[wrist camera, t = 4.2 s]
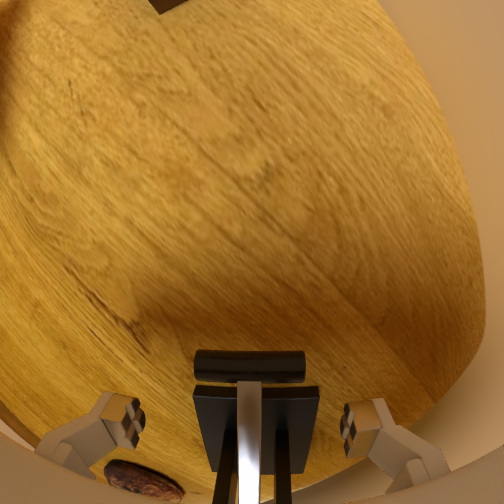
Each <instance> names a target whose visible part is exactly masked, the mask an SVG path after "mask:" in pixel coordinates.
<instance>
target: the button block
mask: <svg viewBox="0 0 504 504" xmlns="http://www.w3.org/2000/svg"><path fill="white" fill-rule="evenodd" d="M148 1H149V2H150V3H151V5H152V6H153V7H154V8H155V10H156V11H157V12H158V14H161V13H163V12H165V11H166V10H168V9H170V8H172V7H174V6H176V5H178V4H180V3H182V2H184V1H186V0H148Z"/></svg>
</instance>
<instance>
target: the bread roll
mask: <svg viewBox="0 0 504 504" xmlns="http://www.w3.org/2000/svg"><path fill="white" fill-rule="evenodd" d="M104 474H105V477H106V479H107V481H108V483H109V485H110V486H113V487H116V488H119V489H123V490H126V491H130V492H133V493H137V494H141V495H144V496H148V497H153V498H157V499H162V500H166V501H172V502H177V503H180V502H181V501H182V499H184V496H183V495H182V493H181V491H180V490H179V488H178V487H176V486H175V485H174V484H172V483H171V482H170V481H169V480H167V479H164V478H162V477H160V476H158V475H156V474H153V473H151V472H149V471H146V470H145V469H140V468H139V467H137V466H135V465H131V464H130V465H129V464H128V463H127V462H125V461H121V460H115V461H111V462H110V463H108V465H106V466H105V468H104Z"/></svg>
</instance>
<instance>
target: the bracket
mask: <svg viewBox="0 0 504 504" xmlns="http://www.w3.org/2000/svg"><path fill="white" fill-rule="evenodd" d="M319 399H320V396H319V391H318V387H301V388H262V426H261V475H274V504H292V496H291V474H302V473H304V469H305V465H306V461H307V457H308V452H309V448H310V444H311V439H312V434H313V430H314V425H315V420H316V415H317V410H318V404H319ZM193 400H194V404H195V409H196V413H197V417H198V421H199V425H200V429H201V433H202V437H203V441H204V445H205V449H206V452H207V456H208V459H209V463H210V466H211V470H212V472H217V478H216V484H215V490H214V496H213V502H212V504H235V498H236V489H237V480H238V439H237V388H230V387H211V386H198V385H196V386H195V389H194V393H193Z"/></svg>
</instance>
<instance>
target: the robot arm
mask: <svg viewBox="0 0 504 504" xmlns="http://www.w3.org/2000/svg"><path fill="white" fill-rule="evenodd" d="M139 406H140V401H139V399H138V398H136V397H131V396H126V395H122V394H118V393H113V392H108V391H105V392H103V393H102V395H101V396H100V398H99V399H98V401H97V402H96V404H95V405H94V407H93V408H92V410H91V412H90V413H89V415H86V414H85V415H83V416H81V417H79V418H77V419H75V420H73V421H71V422H69V423H67V424H65V425H63V426H61V427H59V428H57V429H55V430H53V431H50V432H48V433H46V434H45V436H44V437H43V439H42V440H41V442H40V443H39V445H38V446H37V448H36V449H35V451H34V452H33V451H31V450H29V449H27V448H25V447H24V446H22V445H20V444H19V443H17V442H16V441H14V440H12V439H11V438H9V437H8V436H6V435H5V434H3V433H1V432H0V504H183V503H177V502H172V501H166V500H162V499H157V498H153V497H148V496H144V495H141V494H137V493H133V492H130V491H126V490H123V489H119V488H116V487H113V486H110V485H107V484H104V483H101V482H99V481H96V480H95V479H96V477H95V475H94V474H93V473H92V471H91V470H90V469H89V467H90V466H92V465H93V464H95V463H96V462H97V461H99V460H100V459H101V458H103V457H104V456H106V455H107V454H108V453H110V452H111V451H112V450H114V449H115V448H116V447H117V446H120V447H124V448H128V449H133V450H135V448H136V446H137V443H138V441H139V439H140V438H139V436H138V434H139V433H140V432H142V431H143V429H144V427H145V420H146V419H145V414H144V411H143V410H142V409H141V408H139ZM344 412H345V414H344V415H343V416H342V417H341V421H340V431H341V436H342V438H343V439H344V440H346V441H345V443H344V449H345V453H346V457H347V458H352V457H359V456H365V455H367V457H368V458H370V459H371V460H372V461H373V462H374V463H375V464H376V465H377V466H378V467H380V468H381V469H382V470H383V471H384V472H385V473H386V474H387V475H389V476H390V477H391V478H392V479H393V480H394V481H393V482H392V483H391V485H390V486H389V488H388V489H387V490H386V491H385V494H386V495H382V496H378V497H374V498H369V499H365V500H360V501H355V502H350V503H344V504H504V445H502V446H500V447H499V448H497V449H495V450H494V451H492V452H490V453H488V454H486V455H485V456H483V457H481V458H479V459H477V460H475V461H473V462H471V463H469V464H467V465H465V466H463V467H461V468H458V469H456V470H454V471H452V472H451V470H450V468H449V466H448V464H447V462H446V460H445V458H444V456H443V453H442V452H441V449H439V448H437V447H435V446H433V445H432V444H430V443H428V442H427V441H425V440H423V439H422V438H420V437H418V436H417V435H415V434H413V433H412V432H410V431H408V430H407V429H405V428H404V427H402V426H400V425H396V424H395V422H394V420H393V418H392V415H391V413H390V411H389V409H388V406H387V404H386V402H385V400H384V398H382V397H381V398H375V399H369V400H362V401H356V402H348V403H346V404H345V406H344Z"/></svg>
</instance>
